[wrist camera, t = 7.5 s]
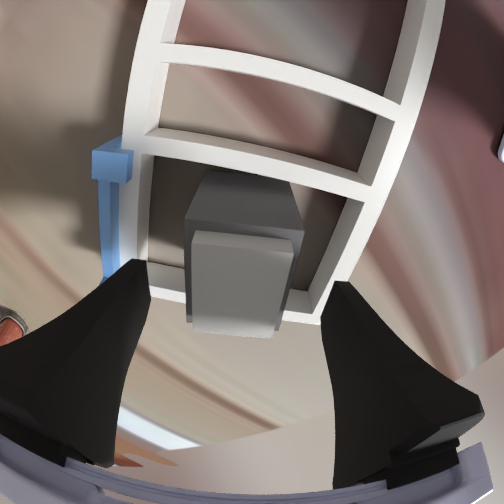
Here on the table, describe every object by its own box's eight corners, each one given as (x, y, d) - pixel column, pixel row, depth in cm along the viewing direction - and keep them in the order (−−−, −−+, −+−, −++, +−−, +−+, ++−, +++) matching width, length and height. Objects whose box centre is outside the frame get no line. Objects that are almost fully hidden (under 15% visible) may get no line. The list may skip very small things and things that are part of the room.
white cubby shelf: (427, -13, 7) (467, -24, 4) (317, 302, 18) (327, 345, 15) (183, -79, 5) (166, -111, 2) (124, 266, 17) (102, 306, 14)
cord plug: (287, 178, 14) (308, 243, 9) (272, 261, 17) (279, 344, 12) (206, 170, 14) (178, 230, 9) (202, 254, 16) (183, 336, 11)
